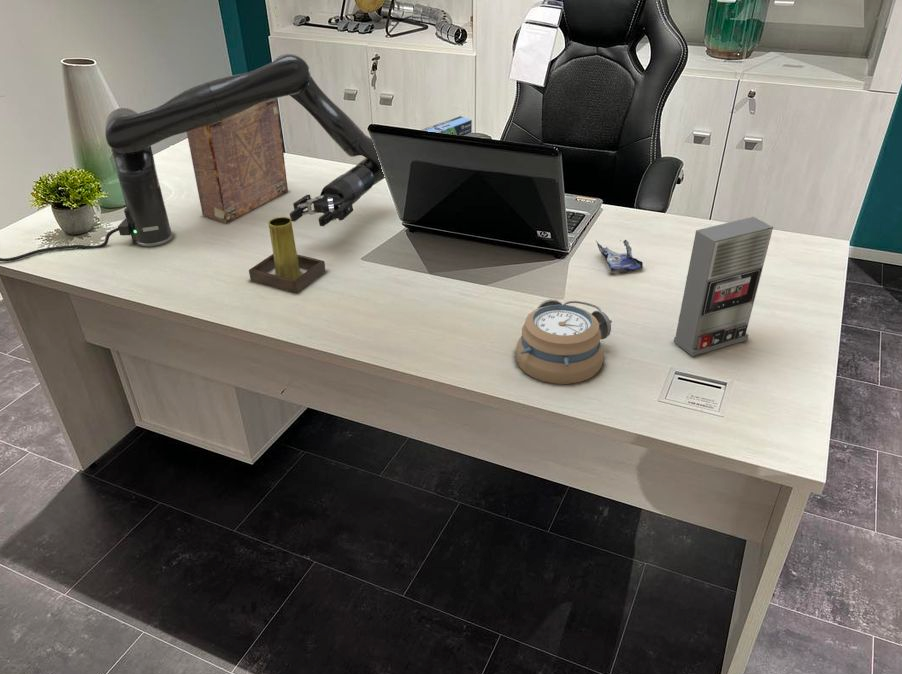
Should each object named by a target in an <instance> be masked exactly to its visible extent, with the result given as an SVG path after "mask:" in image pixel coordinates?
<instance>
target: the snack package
mask: <svg viewBox="0 0 902 674" xmlns="http://www.w3.org/2000/svg"><path fill="white" fill-rule="evenodd" d="M619 241H620V242H621V241H622V240H621V239H619ZM595 242H596V245H597V247H598V251H599V252H600V254H601V255H602V257H603V259H604V260H605V262H606V264H607V265H608V267H609V269H610V271H611V272H613V271H618V270H624V271H625V273H629V272H636V271H638V270H642V269H644V263H643V261H641V260H639V259H637V258H635V257H634V256H633V254H632V247H631V246H630V242H629V241H628V240H627V239H624V240H623V242H622V243H623V244H624V245H623V246H625V250H626V253H619V252H615V251H612V250H611V249H610V248H608V247H607V246H606V247H604V246H602V244H600V243H599V241H598V240H595ZM610 274H611V275H612V274H613V273H610Z"/></svg>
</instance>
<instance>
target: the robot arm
mask: <svg viewBox="0 0 902 674" xmlns="http://www.w3.org/2000/svg"><path fill="white" fill-rule="evenodd" d="M287 96H290V97H291V98H292V99H293V100H295V101H296V102H297V103H298V104H299V105H301V107H303V109H305V110H306V111H307V112H308V113H309V114H310V115H311V116H312V118H313V119H314V120H315V121H316V122H317V123H318V124H319V125H320V127H321V128H322V129H323V130H324V131H325V132H326V134H327V135H328V136H329V137H330V138H331V139H332V140H333V141H334V142H335V144H336V145H338V147H339V148H340V149H341V150H342V151H343V152H344V153H345V154H346V155H347V156H348V157H351V158H354V157H355V158H356V157H359V156H362V157H364V158H363V159H362V160H361V161H360V162H359V163H357V164H356V165H355V166H353V167H351V168H350V169H349V170H347V171H346V172H345V173H343V174H341V175H339V176H337V177H336V178H334V179H333V180H331V181H330V182H328V184H326V185H325V186H323V188H322V189H321V192H320V194H319V195H318V196H315V197H311V194H306V195H304V196H302V197H301V198H299V199H298V200H296V201H295V202H293V203H292V205H293V209H294V210H292V211H291V212H290V213H289V218H290V219H291V223H295V222H296V221H298V220H299V219H301V218H302V217H303V216H306V215H310V216H313V215H317V214H322V215H320V216H319V217H318V223H319V227H325V226H327V225H329V223H331V222H333V221H336V220H337V219H338V221H344V220H345V219H346V218H347V217H348V216H349V215H351V214H352V213H353V211H354V206H353V205H354V204H355V203H356V202H358V201H359V200H360V198H361V197H362V196H364V195H365V194H366V193H367V192H369V191H370V190H371V189H372V188H373V186H375V185H376V184H378V183H379V182H381V181H383V180H384V179H386V178H385V177H384V174H383V172H382V169H381V165H380V162H379V160H378V156H377V153H376V150H375V148H374V145H373V142H372V139H373V138H372V137H370V136H368V135H366V134H365V132H364V131H363V130H362V129H361V128H360V127H359V126H358V125H357V124H356V123H355V122H354V120H353V119H352V118H351V117H350V116H349V115H347V113H346V112H344V111H343V110H342V109H341V108H340V106H338V105H337V104H336V103H335V102H334V101H333V100H331V98H329V97H328V95H326V93H325V92H324V91H323V90H322V89H321V88H320V86H319V85H318V84H317V82H316V81H315V80H314V78H313V76H312V75H311V69H310V67H309V65H308V63H307V62H306V61H305V59H304V58H302V57H301V56H299V55H297V54H293V53H284V54H281V55H279V56H277V57H276V58H275V59H274V60H273V61H271V62H269V63H267V64H265V65H263V66H261V67H259V68H256V69H254V70H250V71H248V72H244V73H238V74H234V75H228V76H223V77H219V78H215V79H211V80H208V81H205V82H201V83H199V84H197V85H194V86H191V87H189V88H187V89H185V90H183V91H181V92H179V93H178V94H177V95H174V96H173V97H172V98H170V99H169V100H168V101H166V102H164V103H162V104H161V105H159V106H157V107H154V108H152V109H149V110H145V111H142V112H137V111H135V110H134V109H131V108H128V107H119V108H116V109H114V110H112V111H111V112H110V113H109V114H108V116H107V117H106V119H105V127H104V137H105V141H106V143H107V145H108V146H109V148H110V149H111V152H112V156H113V160H114V161H113V162H114V166H115V172H116V175H117V179H118V181H119V182H118V183H119V186H120V189H121V192H122V197H123V200H124V203H125V208H124V209H123V212H124V216H125V218H124V219H123V220H122V221H121V222H120V224H118V226H117V227H115V228H114V229H111V230H110V231H109V232H107V233H106V234H105V235H106V236H105V239H104V242H103V243H100V244H98V245H88V244H87V245H86V244H70V245H60V246H58V245H57V246H52V247H51V246H50V247H45V248H40V249H39V248H38V249H35V250H32V251H29V252H26V253H23V254H20V255H16V256H13V257H7V258H6V257H5V258H4V257H0V262H5V263H6V262H14V261H17V260H21V259H24V258H28V257H30V256H33V255H36V254H39V253H40V254H41V253H44V252H50V251H57V250H58V251H59V250H68V249H87V250H88V249H101V248H104V247H105V246H107V245H108V243H109V241H110V237H111V236H112V235H113V234H114V233H116V232H119V235H120V236H130V237H131V241H132V244H133V245H138V246H139V247H155V246H157V247H158V246H161V245H164V244H166V243H168V242H170V241H171V240H172V239H173V236H174V235H173V232H172V228H171V225H170V220H169V217H168V212H167V208H166V205H165V199H164V196H163V193H162V188H161V184H160V180H159V176H158V172H157V168H156V163H155V157H154V152H153V150H152V146H154V145H155V144H156V145H157V144H158V143H160V142H162V141H165V140H167V139H169V138H172V137H174V136H177V135H180V134H181V135H182V134H184V133H187V132H188V131H191V130H194V129H197V128H200V127H203V126H206V125H209V124H212V123H215V122H218V121H221V120H223V119H226V118H228V117H231V116H233V115H236V114H238V113H240V112H242V111H244V110H246V109H248V108H250V107H252V106H254V105H257V104H259V103H261V102H264V101H268V100H271V99H275V98H277V99H279V98H283V97H287ZM312 207H313V210H312Z"/></svg>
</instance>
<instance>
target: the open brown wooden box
mask: <svg viewBox="0 0 902 674" xmlns="http://www.w3.org/2000/svg"><path fill="white" fill-rule="evenodd" d="M297 257H298V263H299V268H302V269H305V270H306V271H305V272H303V273H301V276H300V277H298V278H297V279H295V280H292V279H289V278H285V277H281V276H277V275H276V274H272V273H269V272H270V271H272V269H275V264H274V256H273V253H272V254H271V255H269V256H268V257H266V258H264V259H263V260H262V261H260V262H258V263H256V264H255V265H254V266H252V267H251V268H250V269H248V273H249V280H250V282H253V283H256V284H260V285H264V286H267V287H272V288H274V289H279V290H283V291H285V292H290V293H294V294H298V293H300V292H301V291H303V290H304V289H305V288H306V287H308V286H309V285H310V284H311V283H313V282H314V281H315V280H317V279H318V278H320V277H321V276H322V275H323V274H325V273H326V271H327V270H326V265H325V260H322V259H318V258H314V257H310V256H306V255H303V254H302V255H301V254H298V253H297Z"/></svg>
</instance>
